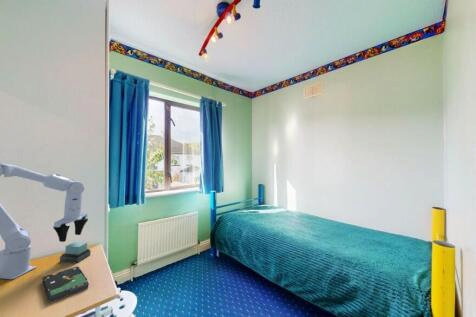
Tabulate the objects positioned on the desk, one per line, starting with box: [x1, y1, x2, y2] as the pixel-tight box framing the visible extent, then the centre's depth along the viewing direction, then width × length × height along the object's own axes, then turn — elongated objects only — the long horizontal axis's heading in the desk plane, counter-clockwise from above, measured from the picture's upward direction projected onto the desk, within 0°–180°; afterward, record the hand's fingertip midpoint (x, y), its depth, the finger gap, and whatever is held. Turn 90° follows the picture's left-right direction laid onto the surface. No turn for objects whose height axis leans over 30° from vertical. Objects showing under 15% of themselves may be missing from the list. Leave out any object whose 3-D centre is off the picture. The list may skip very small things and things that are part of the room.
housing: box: [64, 241, 88, 255], centre depth 87 cm, size 4×6×3 cm
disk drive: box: [42, 266, 89, 304], centre depth 69 cm, size 10×3×15 cm
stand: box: [59, 248, 92, 264], centre depth 87 cm, size 8×7×3 cm
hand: (70, 237), depth 86 cm, fingers open, 7 cm apart
